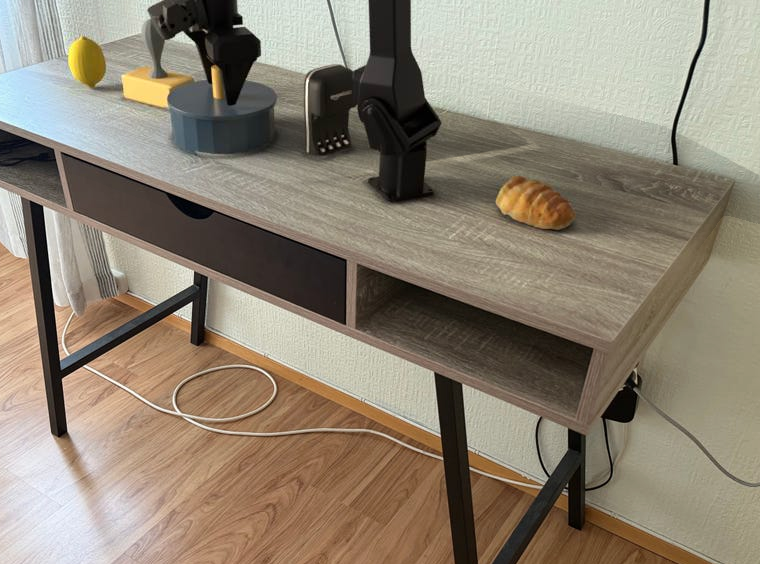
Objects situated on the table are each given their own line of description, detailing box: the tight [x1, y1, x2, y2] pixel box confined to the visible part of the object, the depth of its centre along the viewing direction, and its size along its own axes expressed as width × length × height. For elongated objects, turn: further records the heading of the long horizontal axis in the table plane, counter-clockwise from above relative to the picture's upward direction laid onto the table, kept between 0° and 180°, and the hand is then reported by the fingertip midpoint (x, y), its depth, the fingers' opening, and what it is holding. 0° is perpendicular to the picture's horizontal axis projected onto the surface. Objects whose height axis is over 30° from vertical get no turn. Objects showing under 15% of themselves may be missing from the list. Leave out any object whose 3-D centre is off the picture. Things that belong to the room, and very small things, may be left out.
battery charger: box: [303, 63, 357, 157], centre depth 109 cm, size 7×4×11 cm, turn 132°
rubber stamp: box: [121, 18, 195, 109], centre depth 124 cm, size 10×6×12 cm, turn 60°
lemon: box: [67, 35, 107, 89], centre depth 129 cm, size 6×6×8 cm
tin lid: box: [167, 65, 278, 121], centre depth 112 cm, size 15×15×5 cm
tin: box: [169, 106, 276, 156], centre depth 115 cm, size 14×14×5 cm
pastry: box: [495, 175, 576, 231], centre depth 98 cm, size 9×7×4 cm
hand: (221, 93), depth 112 cm, fingers open, 9 cm apart
